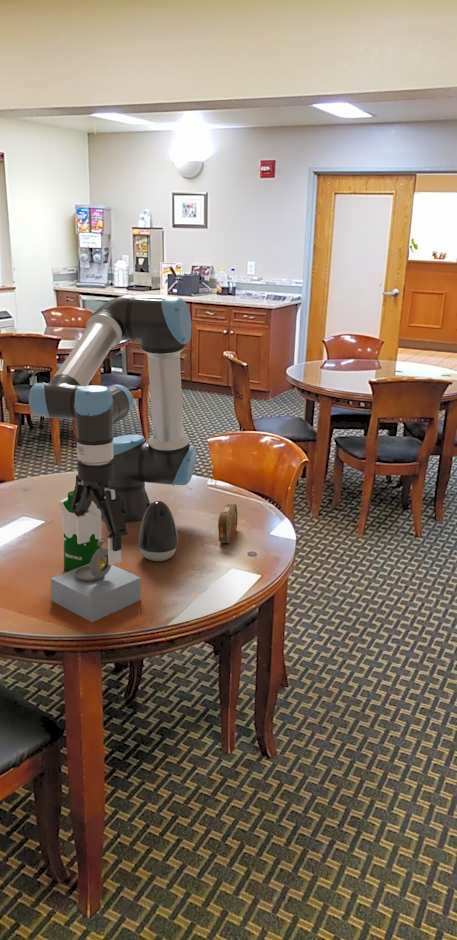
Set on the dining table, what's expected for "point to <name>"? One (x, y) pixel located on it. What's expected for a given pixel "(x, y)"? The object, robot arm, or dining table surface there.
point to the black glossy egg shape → (158, 533)
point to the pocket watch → (95, 565)
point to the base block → (96, 593)
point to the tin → (227, 523)
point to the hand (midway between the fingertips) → (98, 552)
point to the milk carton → (73, 551)
